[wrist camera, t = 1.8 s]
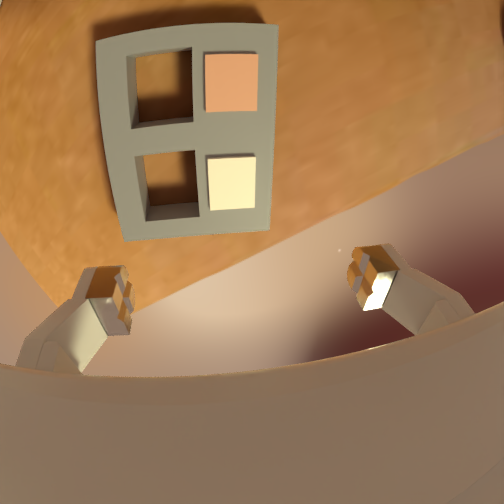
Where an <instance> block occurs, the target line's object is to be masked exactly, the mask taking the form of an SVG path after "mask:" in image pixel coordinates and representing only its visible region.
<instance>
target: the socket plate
mask: <svg viewBox="0 0 504 504" xmlns="http://www.w3.org/2000/svg"><path fill="white" fill-rule="evenodd" d="M278 26H279V25H273V24H257V23H205V24H190V25H179V26H170V27H162V28H155V29H148V30H142V31H137V32H132V33H127V34H122V35H118V36H113V37H109V38H105V39H101V40H98V41H96V71H97V87H98V100H99V110H100V119H101V127H102V135H103V142H104V148H105V155H106V161H107V166H108V172H109V177H110V182H111V187H112V192H113V197H114V201H115V206H116V210H117V215H118V219H119V223H120V227H121V231H122V235H123V238H124V242H128V241H138V240H150V239H161V238H173V237H185V236H198V235H211V234H224V233H238V232H252V231H267V230H270V213H271V196H272V177H273V158H274V137H275V114H276V89H277V61H278ZM190 50H192V86H193V117H182V118H172V119H163V120H155V121H147V122H140V123H139V113H138V100H137V83H136V57H142V56H148V55H154V54H162V53H170V52H179V51H190ZM188 150H195V158H196V174H197V188H198V201H199V202H190V203H178V204H167V205H157V206H150V201H149V194H148V188H147V181H146V175H145V167H144V160H143V155H150V154H158V153H167V152H177V151H188Z"/></svg>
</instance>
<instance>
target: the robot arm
mask: <svg viewBox="0 0 504 504" xmlns="http://www.w3.org/2000/svg"><path fill="white" fill-rule="evenodd" d="M1 2H2V0H0V5H1ZM352 258H353V260H354V261H353V262H352V263H351V264H350V265H349V267H348V271H347V279H348V283H349V286H350V287H351V289H352V290H353V291H355V292H356V293H357V297H356V298H357V300H358V302H359V304H360V306H361V307H362V309H363V310H369V309H375V308H382V309H383V310H384V311H386V312H387V313H388V314H389V315H391V316H392V317H393V318H395V319H396V320H397V321H398V322H400V323H401V324H402V325H403V326H405V327H406V328H407V329H408V330H410V331H411V332H412V333H413V334H414V335H416V336H413V337H410V338H406V339H403V340H400V341H396V342H393V343H390V344H386V345H382V346H378V347H374V348H371V349H367V350H363V351H359V352H354V353H350V354H346V355H341V356H337V357H332V358H327V359H322V360H318V361H312V362H306V363H301V364H295V365H289V366H282V367H276V368H269V369H261V370H253V371H245V372H236V373H225V374H212V375H198V376H180V377H179V376H177V377H113V376H112V377H111V376H92V375H83V374H82V373H81V372H82V371H83V370H84V368H85V367H86V366H87V364H88V363H89V361H90V360H91V359H92V357H93V356H94V355H95V353H96V352H97V351H98V349H99V348H100V347H101V345H102V344H103V343H104V341H105V340H106V339H107V338H108V336H114V335H129V334H130V329H131V323H132V319H131V316H130V314H131V313H132V312H133V311H134V307H135V294H134V289H133V286H132V284H131V283H130V282H128V281H127V279H128V275H129V274H128V271H127V269H126V267H125V266H124V265H120V266H100V267H87V268H85V269H84V271H83V273H82V275H81V277H80V280H79V282H78V284H77V287H76V289H75V292H74V294H73V297H72V299H68V300H67V301H66V302H64V303H63V304H62V305H61V306H60V307H59V308H58V309H57V310H56V311H54V312H53V313H52V314H51V315H50V316H49V317H48V318H46V320H44V321H43V322H42V323H41V324H40V325H39V326H38V327H37V328H36V329H35V330H33V331H32V332H31V333H30V334H29V335H28V336H27V337H26V338H25V340H24V343H23V345H22V348H21V351H20V354H19V357H18V360H17V363H16V366H11V365H6V364H1V363H0V504H504V302H502V303H500V304H498V305H495V306H493V307H491V308H489V309H486V310H484V311H482V312H479V313H477V314H475V313H474V312H473V310H472V309H471V308H470V306H469V305H468V304H467V302H466V301H465V300H464V298H463V297H462V296H461V294H459V293H458V292H456V291H454V290H453V289H451V288H449V287H447V286H446V285H444V284H442V283H440V282H438V281H437V280H435V279H433V278H431V277H429V276H428V275H426V274H424V273H422V272H420V271H418V270H416V269H415V268H414V269H411V268H410V266H409V265H408V264H407V263H406V261H405V260H404V259H403V258H402V257H401V255H400V254H399V253H398V252H397V251H396V249H394V247H393V246H392V245H391V244H380V245H375V246H362V247H355V249H354V250H353V253H352Z"/></svg>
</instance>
